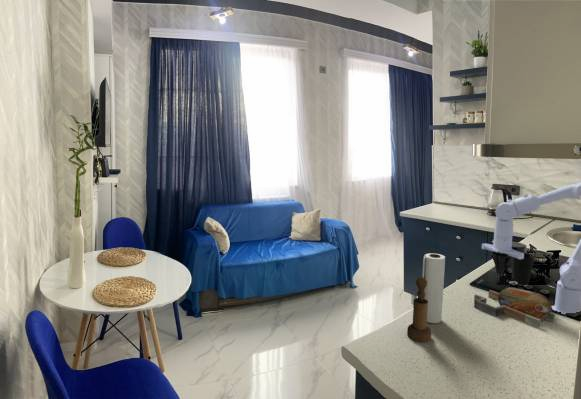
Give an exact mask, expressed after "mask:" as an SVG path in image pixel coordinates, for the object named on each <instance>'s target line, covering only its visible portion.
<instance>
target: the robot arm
mask: <svg viewBox="0 0 581 399" xmlns="http://www.w3.org/2000/svg"><path fill="white" fill-rule="evenodd" d="M565 199H574V200H579V201H580V200H581V181H580V182H576V183H572V184H569V185H566V186H563V187H562V186H561V187H559V188H558V189H553V190H551V191H548V192H545V193H543V194H540V195H534V194H531V193H530V194H528V193H524V194H523V195H522V196H521V197H518V198H516V199H511V198H510V199H508V200H507V201H506V202H501V203H499V204H498V206H497V207H496V208H495V213H494V214H495V216H496V217H495V223H494V231H493V232H494V233H493V241H492V242H493V244H490V243H481V250H488V251H489V252H492V253H490V257H491V259H492V260H493V261H492V262H493V263H494V268H495V272H496V274H498V275H501V274H502V275H503V274H504V273H505V272H504V270H505V267H506V265H507V263H508V262H509V260H510V259H511V258H512V257H515V258H517V259H524V253H521V252H519V251H516V250H514V249H511V247H512V242H513V234H514V217H515V216H517V217H519V216H523V215H526V214H529V213H534V212H537V211H539V209H540V207H541V206H543V205H546V204H551V203H554V202H558V201H561V200H565ZM558 272H559V275H560V278H559V280H557V281H556V282H557V283H556V290H555V301H554V305H551V307H552V311H554V312H556V311H557V313H559V312H561V313H560V314H562V315H565V314H566V313H576V312H580V311H581V238H580V239H579V241H578V243H577V244H576V247H575V249H574V251H573V252H572V254H571V255H570V256H569V258H567V261H566V262H565V263H563V264H561V266H560V267H559V270H558Z"/></svg>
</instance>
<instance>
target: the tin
mask: <svg viewBox="0 0 581 399" xmlns="http://www.w3.org/2000/svg"><path fill="white" fill-rule="evenodd" d="M498 293H499V295H498V301H497V302H498V304H499V306H502V305H505V306H507V307H510V308H512V309H515V310H517V311H520V312H522V313H525V314H527V315H530V316H532V317H535V318H537V319H540V320H541V321H543V320H546V319H545V318H547V317H548V316H549V314H550V312H551V306H552V302H551V301H550V300H549V299H548V298H547V297H546V296H545V295H543V294H542V293H538V292H535V291H530V290H525V289H520V288H517V287H510V286H509V287H507V288H503V289H502V290H501V291H500V292H498Z"/></svg>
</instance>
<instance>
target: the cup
mask: <svg viewBox="0 0 581 399" xmlns="http://www.w3.org/2000/svg"><path fill="white" fill-rule="evenodd" d="M521 253H522V252H521ZM534 260H535V255H533V254H530V253H528V252H527V253H524V259H517V258H515V257H512V274H511V280H512V279H513V280H515V281H517V282H518V283H520V284H523V285H526V284H528V283H530V279H531V275H532V270H533V264H534ZM528 285H529V284H528Z"/></svg>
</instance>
